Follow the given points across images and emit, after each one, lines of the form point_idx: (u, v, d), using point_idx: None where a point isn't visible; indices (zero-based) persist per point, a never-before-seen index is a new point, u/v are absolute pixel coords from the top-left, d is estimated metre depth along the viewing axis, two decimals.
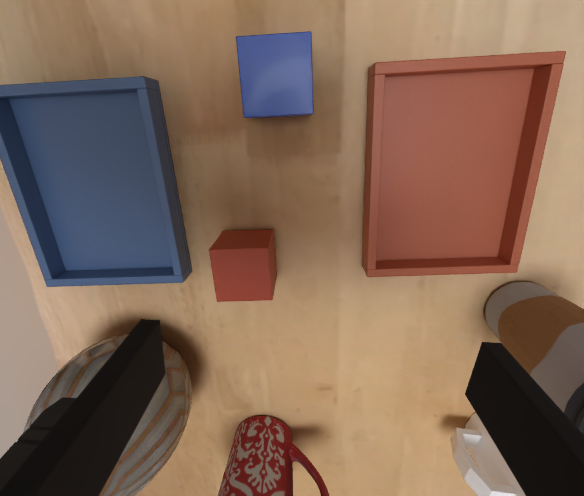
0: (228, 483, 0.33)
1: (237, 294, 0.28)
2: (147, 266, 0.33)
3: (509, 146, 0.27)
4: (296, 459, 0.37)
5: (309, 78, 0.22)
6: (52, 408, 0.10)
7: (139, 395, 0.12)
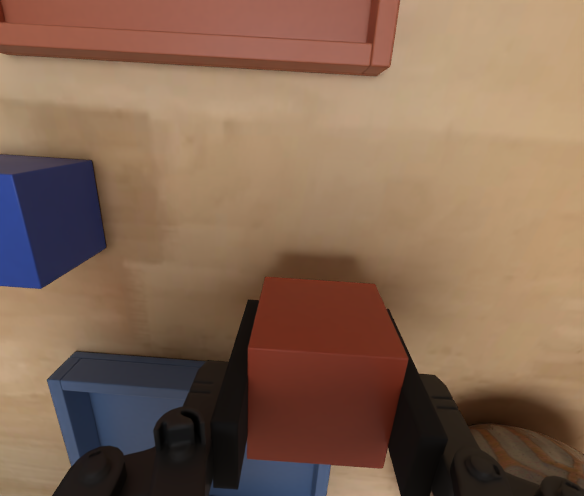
0: None
1: (372, 429, 0.11)
2: None
3: None
4: None
5: None
6: (203, 368, 0.12)
7: None
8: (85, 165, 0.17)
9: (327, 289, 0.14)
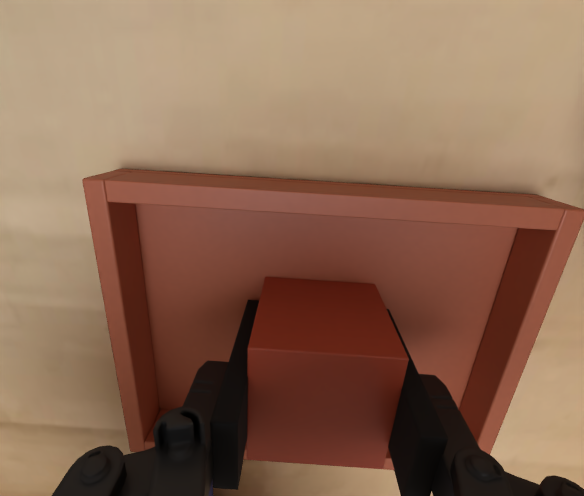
0: None
1: (372, 430, 0.11)
2: None
3: (274, 218, 0.14)
4: None
5: None
6: (203, 368, 0.12)
7: None
8: None
9: (327, 289, 0.14)
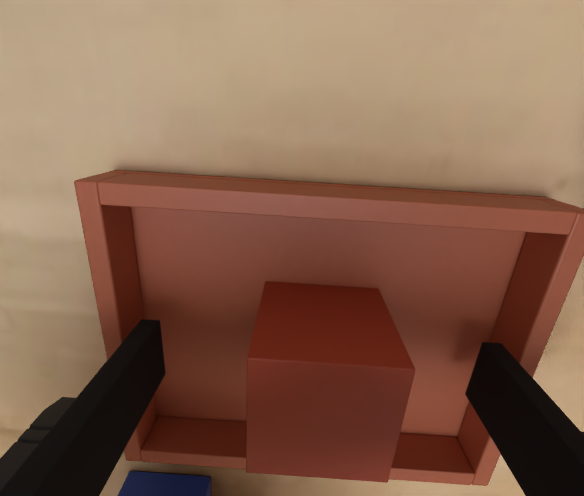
0: None
1: (377, 442, 0.11)
2: None
3: (274, 221, 0.13)
4: None
5: None
6: (51, 408, 0.10)
7: (139, 395, 0.12)
8: (208, 488, 0.19)
9: (329, 294, 0.13)
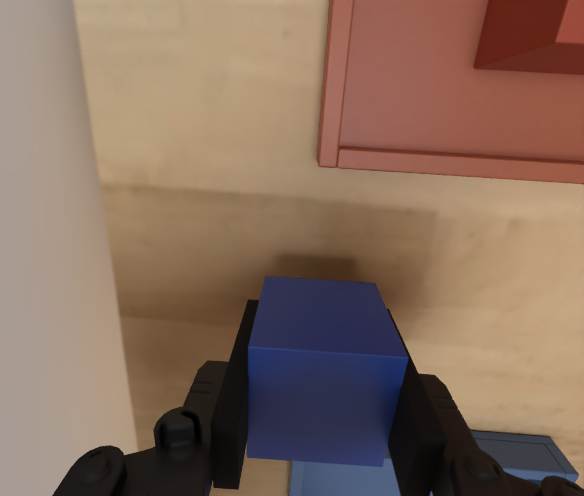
0: None
1: None
2: None
3: None
4: None
5: (336, 356, 0.10)
6: (203, 368, 0.12)
7: None
8: (377, 293, 0.14)
9: None
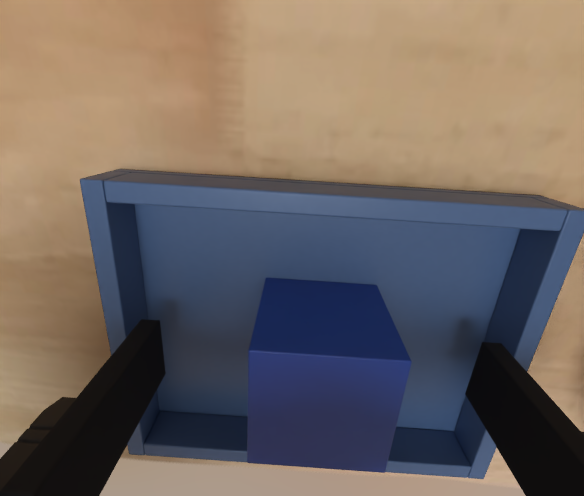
0: None
1: None
2: (496, 290, 0.14)
3: None
4: None
5: (338, 361, 0.10)
6: (52, 408, 0.10)
7: (139, 395, 0.12)
8: (379, 295, 0.14)
9: None
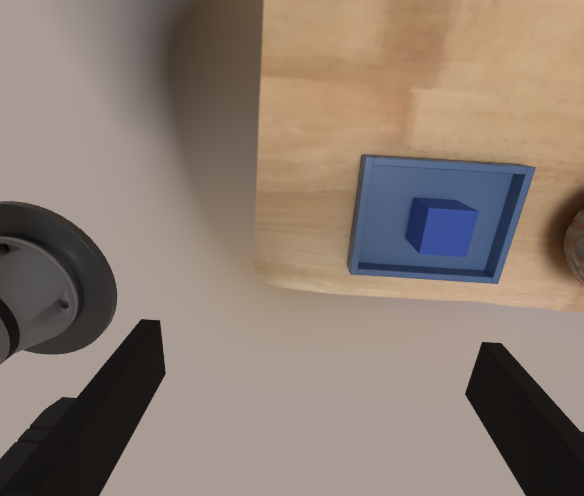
0: None
1: None
2: (503, 202, 0.37)
3: None
4: None
5: (456, 211, 0.32)
6: (52, 408, 0.10)
7: (139, 395, 0.12)
8: (458, 202, 0.36)
9: None
